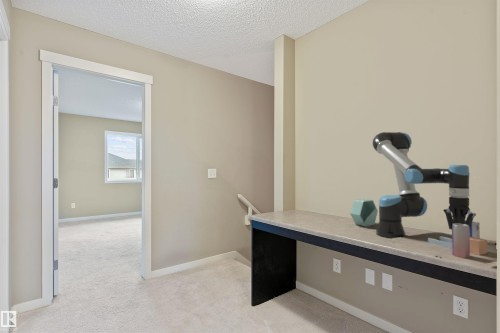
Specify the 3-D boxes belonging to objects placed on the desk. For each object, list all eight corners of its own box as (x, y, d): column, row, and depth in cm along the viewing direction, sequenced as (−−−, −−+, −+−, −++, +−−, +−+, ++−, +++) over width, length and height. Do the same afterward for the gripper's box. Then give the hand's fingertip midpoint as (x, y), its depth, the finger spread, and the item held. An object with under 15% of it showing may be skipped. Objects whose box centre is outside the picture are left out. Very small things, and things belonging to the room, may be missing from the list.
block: (463, 250, 117) (463, 237, 117) (472, 249, 119) (471, 236, 119) (478, 255, 111) (478, 241, 111) (487, 253, 113) (487, 240, 113)
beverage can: (449, 256, 114) (448, 223, 114) (463, 256, 114) (462, 223, 114) (458, 261, 108) (458, 226, 108) (473, 261, 108) (473, 226, 108)
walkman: (459, 241, 135) (458, 219, 135) (461, 241, 136) (461, 219, 136) (477, 246, 128) (476, 222, 128) (480, 245, 129) (479, 221, 129)
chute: (427, 244, 131) (427, 238, 131) (441, 242, 134) (441, 236, 134) (461, 255, 115) (461, 247, 116) (477, 252, 119) (477, 244, 119)
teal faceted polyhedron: (368, 232, 173) (356, 209, 168) (358, 230, 180) (347, 207, 175) (380, 216, 180) (370, 193, 175) (370, 215, 187) (360, 192, 182)
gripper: (439, 195, 126) (439, 242, 126) (469, 198, 114) (469, 250, 114) (449, 194, 129) (449, 240, 129) (480, 198, 116) (480, 248, 117)
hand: (459, 245), depth 122 cm, fingers closed
